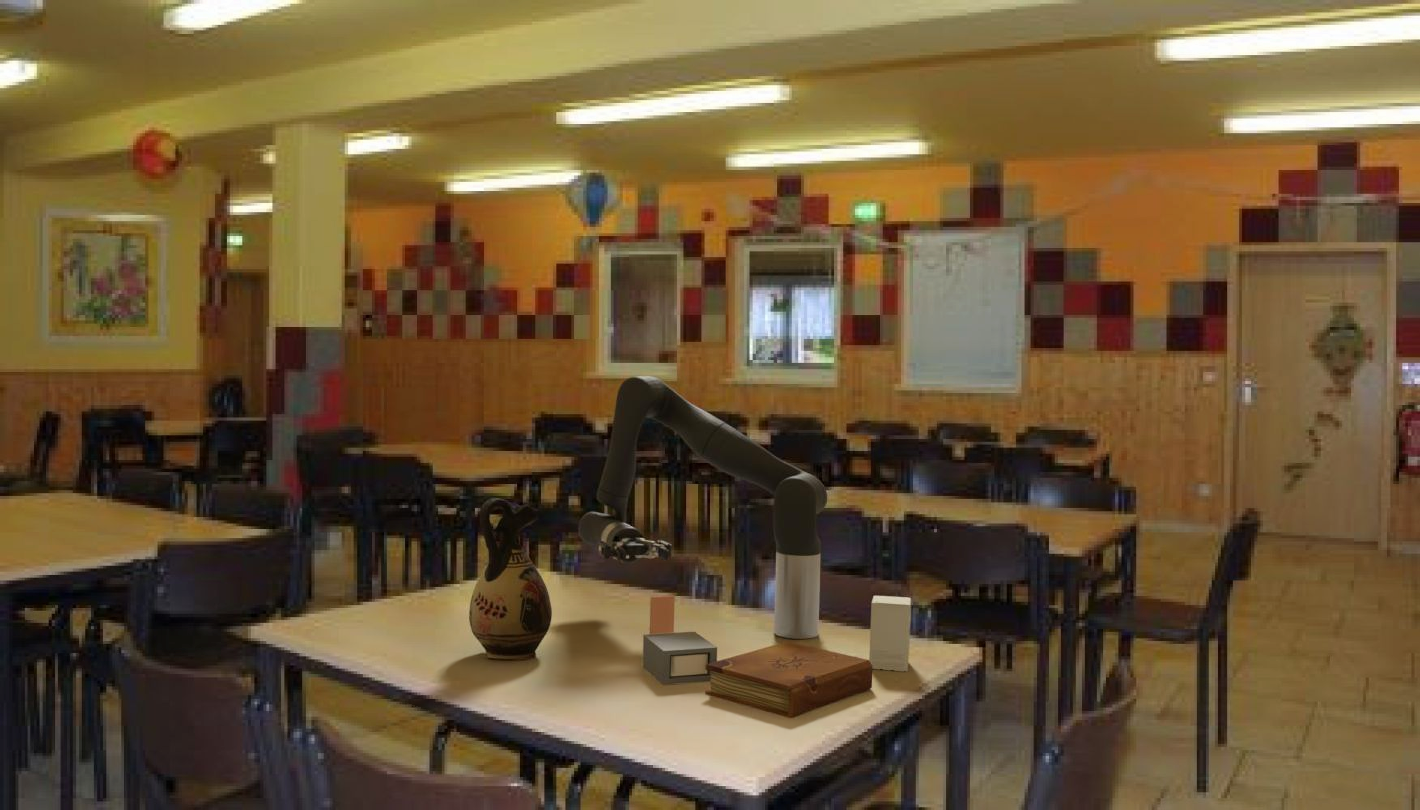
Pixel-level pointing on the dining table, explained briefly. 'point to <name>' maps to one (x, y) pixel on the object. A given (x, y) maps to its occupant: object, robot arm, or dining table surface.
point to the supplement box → (890, 633)
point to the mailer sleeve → (668, 644)
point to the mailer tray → (665, 624)
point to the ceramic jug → (509, 589)
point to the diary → (789, 678)
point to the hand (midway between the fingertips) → (645, 555)
